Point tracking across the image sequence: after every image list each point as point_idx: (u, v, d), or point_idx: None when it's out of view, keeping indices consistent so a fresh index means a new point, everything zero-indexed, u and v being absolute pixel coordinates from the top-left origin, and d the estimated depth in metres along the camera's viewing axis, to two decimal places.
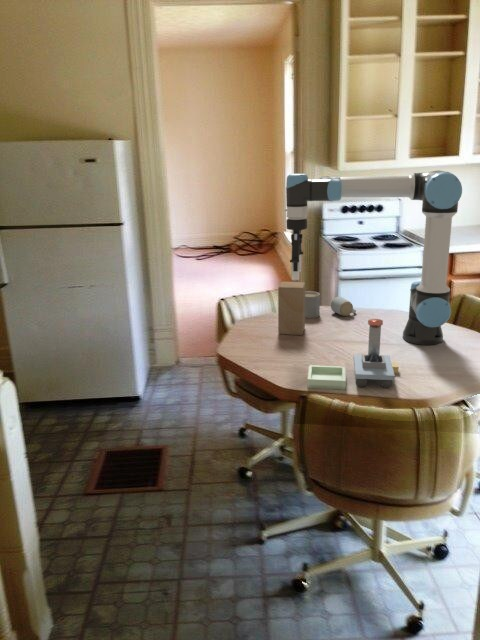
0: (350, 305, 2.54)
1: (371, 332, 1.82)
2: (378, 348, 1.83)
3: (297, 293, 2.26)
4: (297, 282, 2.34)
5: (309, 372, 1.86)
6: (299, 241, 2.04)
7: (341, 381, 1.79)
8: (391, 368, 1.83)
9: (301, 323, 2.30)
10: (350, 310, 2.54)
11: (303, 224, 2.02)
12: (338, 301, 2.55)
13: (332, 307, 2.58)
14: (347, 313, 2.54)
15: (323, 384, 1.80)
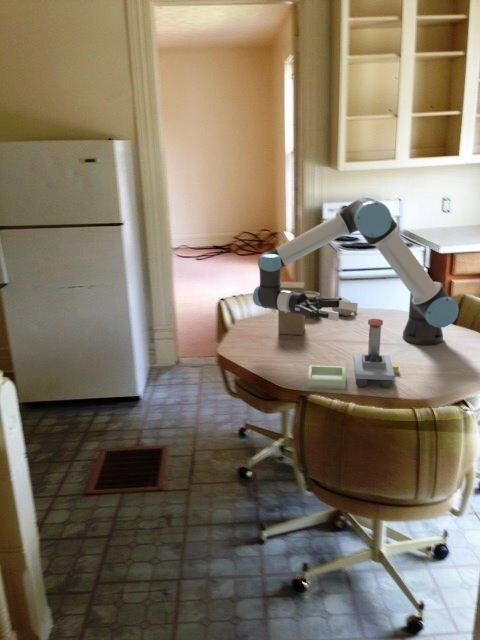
0: None
1: (371, 332, 1.82)
2: (378, 348, 1.83)
3: None
4: (297, 282, 2.34)
5: (309, 372, 1.86)
6: None
7: (341, 381, 1.79)
8: (391, 368, 1.83)
9: (301, 323, 2.30)
10: (351, 310, 2.55)
11: (293, 297, 1.95)
12: None
13: (333, 307, 2.58)
14: (348, 313, 2.54)
15: (323, 384, 1.80)
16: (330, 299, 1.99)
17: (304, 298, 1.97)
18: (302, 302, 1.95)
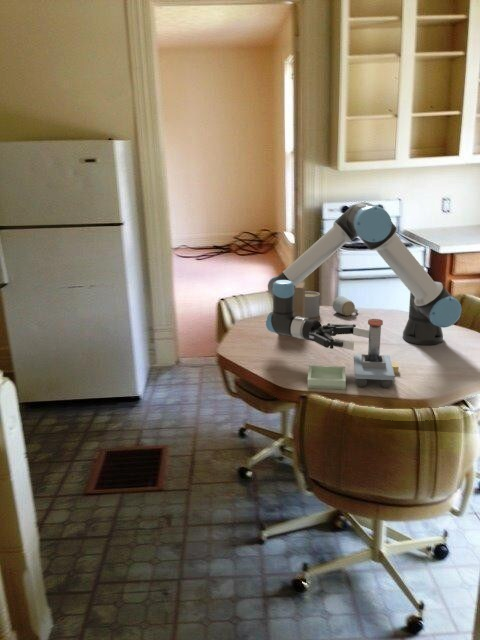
0: (352, 305, 2.54)
1: (371, 332, 1.82)
2: (378, 348, 1.83)
3: (297, 293, 2.26)
4: None
5: (309, 372, 1.86)
6: None
7: (341, 381, 1.79)
8: (391, 368, 1.83)
9: None
10: (352, 310, 2.55)
11: (307, 324, 1.94)
12: (340, 301, 2.55)
13: (334, 307, 2.58)
14: (349, 313, 2.55)
15: (323, 384, 1.80)
16: (344, 325, 1.97)
17: (318, 325, 1.96)
18: (316, 329, 1.93)
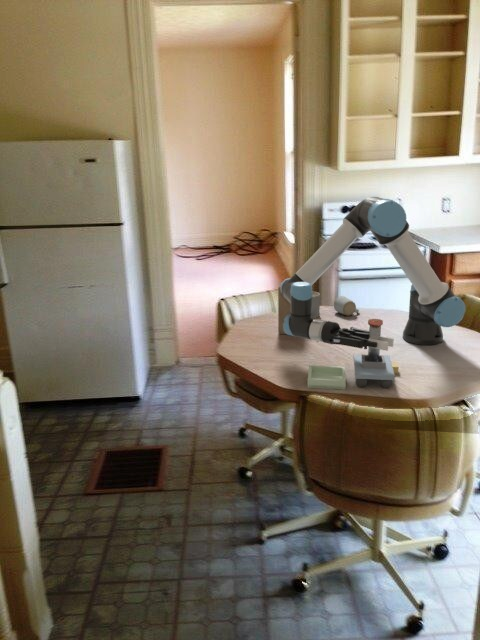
0: (353, 305, 2.54)
1: (370, 332, 1.82)
2: None
3: None
4: None
5: (309, 372, 1.86)
6: (344, 334, 1.88)
7: (341, 381, 1.79)
8: (391, 368, 1.83)
9: None
10: (353, 310, 2.55)
11: (326, 327, 1.90)
12: (341, 301, 2.55)
13: (335, 307, 2.58)
14: (350, 313, 2.55)
15: (323, 384, 1.80)
16: (364, 332, 1.90)
17: (337, 328, 1.92)
18: (335, 332, 1.90)
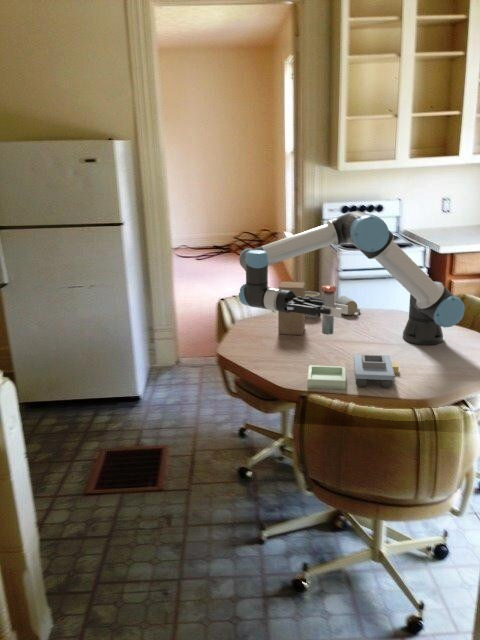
0: (354, 304, 2.54)
1: (324, 298, 1.77)
2: None
3: (297, 293, 2.26)
4: (297, 282, 2.34)
5: (309, 372, 1.86)
6: (298, 302, 1.83)
7: (341, 381, 1.79)
8: (391, 368, 1.83)
9: (301, 323, 2.30)
10: (354, 309, 2.55)
11: (280, 295, 1.85)
12: (342, 301, 2.56)
13: None
14: (351, 312, 2.55)
15: (323, 384, 1.80)
16: (319, 300, 1.85)
17: (292, 296, 1.87)
18: (290, 300, 1.85)
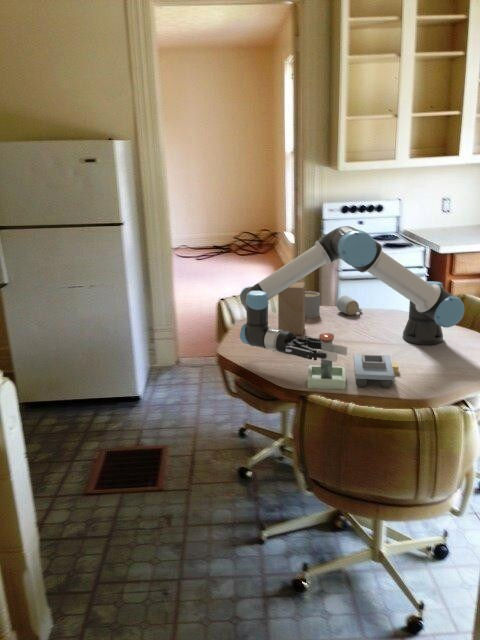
0: (356, 304, 2.55)
1: (322, 347, 1.81)
2: (330, 362, 1.83)
3: (297, 293, 2.26)
4: (297, 282, 2.34)
5: (309, 372, 1.86)
6: (297, 344, 1.87)
7: (341, 381, 1.79)
8: (391, 368, 1.83)
9: (301, 323, 2.30)
10: (356, 309, 2.56)
11: (280, 337, 1.90)
12: (344, 301, 2.56)
13: (338, 306, 2.59)
14: (353, 312, 2.55)
15: (323, 384, 1.80)
16: (319, 340, 1.90)
17: (292, 337, 1.92)
18: (290, 342, 1.89)
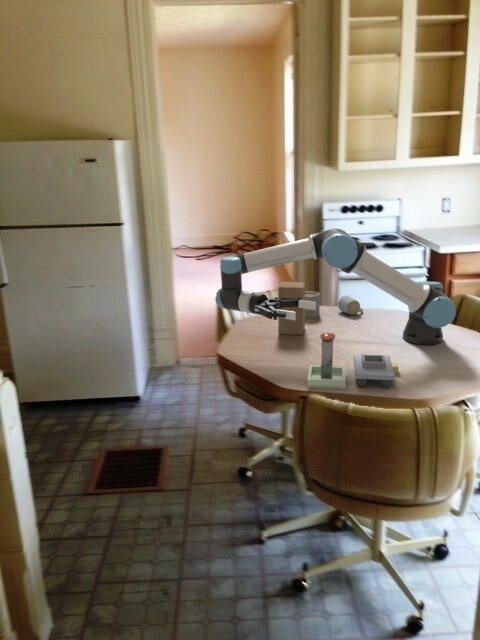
0: (357, 304, 2.55)
1: (323, 346, 1.82)
2: (330, 362, 1.83)
3: (297, 293, 2.26)
4: (297, 282, 2.34)
5: (309, 372, 1.86)
6: None
7: (341, 381, 1.79)
8: (391, 368, 1.83)
9: (301, 323, 2.30)
10: (357, 309, 2.56)
11: (253, 298, 1.99)
12: (345, 300, 2.56)
13: (339, 306, 2.59)
14: (354, 312, 2.56)
15: (323, 384, 1.80)
16: (290, 299, 2.03)
17: (264, 299, 2.01)
18: (262, 303, 1.99)
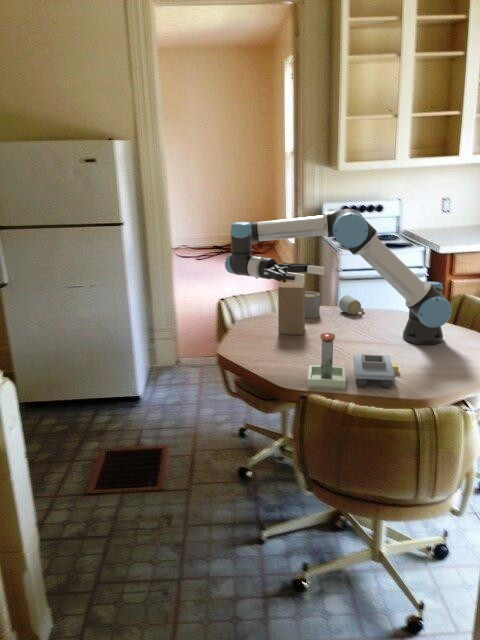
0: (358, 304, 2.55)
1: (323, 346, 1.82)
2: (330, 362, 1.83)
3: (297, 293, 2.26)
4: (297, 282, 2.34)
5: (309, 372, 1.86)
6: None
7: (341, 381, 1.79)
8: (391, 368, 1.83)
9: (301, 323, 2.30)
10: (358, 309, 2.56)
11: (262, 262, 2.01)
12: (346, 300, 2.56)
13: (340, 306, 2.59)
14: (355, 312, 2.56)
15: (323, 384, 1.80)
16: (299, 264, 2.05)
17: (273, 263, 2.04)
18: (271, 267, 2.01)
